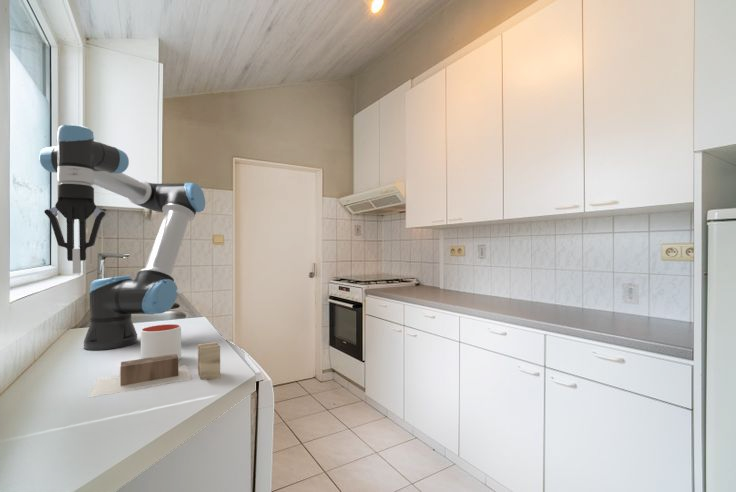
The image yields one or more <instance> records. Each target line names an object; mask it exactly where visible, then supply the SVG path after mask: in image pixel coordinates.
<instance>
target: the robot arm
mask: <svg viewBox="0 0 736 492" xmlns="http://www.w3.org/2000/svg"><path fill="white" fill-rule="evenodd" d="M57 128H58V129H57V139H56V143H57V145H55V146H48V147H45V148H42V149H41V150H40V152H39V157H38V160H39V163H40V165H41V167H42V168H43V169H45V171H47V172H49V173H56V174H57V182H58V183H59V184H58V185H57V201H56V203H55V204H54V206H53V207H51V208H49V209H45V210H44V211H43V212H44V214H45V215H46V216H47V217H48V218H49V221H50V224H51V226H52V229H53V233H54V237H55V239H56V243H57V245H58V246H59V247H62V248H65V249H66V258H67V261H68V262H72V274H73V275H74V274H75V275H77V274H81V273H82V261H86V260H87V249H88V248H90V247H94V246H95V243H96V240H97V237H98V233H99V231H100V228H101V227H100V226H101V223H102V221H103V219H104V218H105V217H106V215H107V214H106V212H105V211H103V210H100V209H99V208H97V205H96V204H95V188H94V187H93V186H96V187H100V188H103V189H105V190H106V191H110V192H112V193H115V194H117V195H119V196H122V197H124V198H126V199H128V200H129V202H131V204H135V205H136V206H139V207H142V208H144V209H147V210H150V211H154V212H157V213H163V214H164V216H163V218H162V221H161V223H160V226H159V228H158V231H157V234H156V237H155V239H154V242H153V245H152V246H151V250H150V253H149V255H148V258H147V260H146V263H145V266H144V268H142V269H139V270H138V271H137V273H136V276H135V278H134V279H133V278H132V276H131V275H122V276H114V277H106V278H99V279H94V280H93V281H92V282H91V283H90V288H89V318H90V319H89V326H88V329H87V332H86V334H85V336H84V340H83V349H84V350H87V351H101V350H111V349H116V348H117V349H118V348H122V347H126V346H131V345H133V344H136V343H137V342H138V333H137V330H136V328H135V325H134V323H133V320H132V315H158V314H164V313H166V312H168V311H169V310H170V309H172V308H173V306H174V304H175V303H176V300H177V297H178V287H177V284H176V282H175V278H174V276H173V275H172V272H173V270H174V267H175V264H176V261H177V257H178V255H179V251H180V248H181V245H182V243H183V239H184V237H185V235H186V230H187V228H188V225H189V222H192V221H193V220H195V217H196V214H197V213H202V212H203V211H204V209H206V197H205V193H204V191H203V189H202V188H201V186H200V185H199V184H197V183H195V182H181V183H179V182H177V183H176V182H175V183H169V182H168V183H165V182H164V183H163V182H162V183H154V182H149V181H146V180H142V179H138V180H137V179H135V178H134V177H132V176H129V175H127V174H125V173H124V172H126V170H127V169H128V167H129V165H130V164H129V162H130V159H129V157H128V154H127V153H126V152H124V151H123V150H121V149H119V148H117V147H114V146H111V145H109V144H106V143H102V142H100V141H97V140H95V136H94V131H92V130H91V129H90V128H88V127H87V126H82V125H78V124H77V125H76V124H62V125H59V127H57ZM58 212H59V213H60V214H61V215H62V216H63V217H64V218H65V219H66V221H65V222H66V241H65V239H64V235H63V232H62V229H61V226H60V223H59V220H58V218H57V216H58V215H59V214H58ZM92 214H94V217H95V218H94V222H93V226H92V229H91V232H90V237H89V238H88V241H87V220H88V219H89V218H90V216H92ZM75 220H78V224H79V225H78V227H79V230H78V233H79V234H78V235H79V237H78V238H79V239H78V241H79V244H78V246H79V248H75Z"/></svg>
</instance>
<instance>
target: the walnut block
mask: <svg viewBox="0 0 736 492" xmlns="http://www.w3.org/2000/svg"><path fill="white" fill-rule="evenodd" d="M178 366H179V360H178V356H177V354H172V355H165V356H158V357H151V358H144V359H141V358H139V359H131V360H124V361H120V366H119V376H120V386H124V385H129V384H135V383H141V382H146V381H152V380H158V379H163V378H169V377H175V376H178Z"/></svg>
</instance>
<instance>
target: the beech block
mask: <svg viewBox="0 0 736 492" xmlns="http://www.w3.org/2000/svg"><path fill="white" fill-rule="evenodd" d="M197 375H198V377H199V379H200V380H207V381H210V380H215V379H221V345H220V344H219V343H218V341H215V342H207V343H200V344H199V343H198V344H197Z"/></svg>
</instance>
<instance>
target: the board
mask: <svg viewBox="0 0 736 492" xmlns="http://www.w3.org/2000/svg"><path fill="white" fill-rule="evenodd" d="M189 371H190V370H189V368H188V366H187V364H183V365H178V376H175V377H169V378H163V379H158V380H152V381H146V382H141V383H135V384H129V385H124V386H120V375H115V376H109V377H103V378H97V379H95V381H94V384H93V387H92V390H91V391H90V392H91V393H90V396H89V398H94V397H95V398H96V397H101V396H106V395H111V394H116V393H122V392H128V391H133V390H139V389H145V388H149V387H151V388H152V387H156V386H160V385H167V384H172V383H177V382H182V381H188V380H193V378H192V375H191V374H190V372H189Z"/></svg>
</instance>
